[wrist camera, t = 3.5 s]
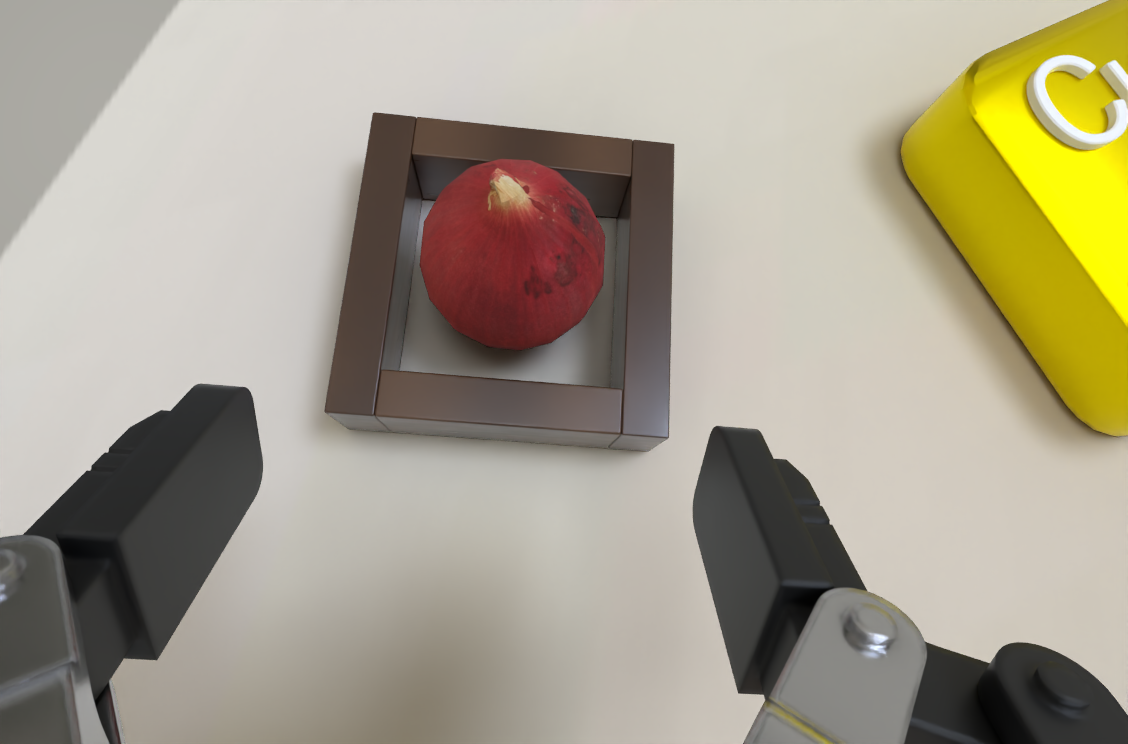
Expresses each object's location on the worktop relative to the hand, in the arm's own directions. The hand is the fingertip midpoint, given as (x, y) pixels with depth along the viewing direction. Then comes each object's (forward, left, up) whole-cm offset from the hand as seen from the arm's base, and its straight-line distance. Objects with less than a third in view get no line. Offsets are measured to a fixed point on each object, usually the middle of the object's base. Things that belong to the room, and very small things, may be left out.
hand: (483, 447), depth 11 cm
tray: (0, +7, -11) cm, 13 cm away
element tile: (+25, +13, -11) cm, 30 cm away
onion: (0, +7, -11) cm, 13 cm away
